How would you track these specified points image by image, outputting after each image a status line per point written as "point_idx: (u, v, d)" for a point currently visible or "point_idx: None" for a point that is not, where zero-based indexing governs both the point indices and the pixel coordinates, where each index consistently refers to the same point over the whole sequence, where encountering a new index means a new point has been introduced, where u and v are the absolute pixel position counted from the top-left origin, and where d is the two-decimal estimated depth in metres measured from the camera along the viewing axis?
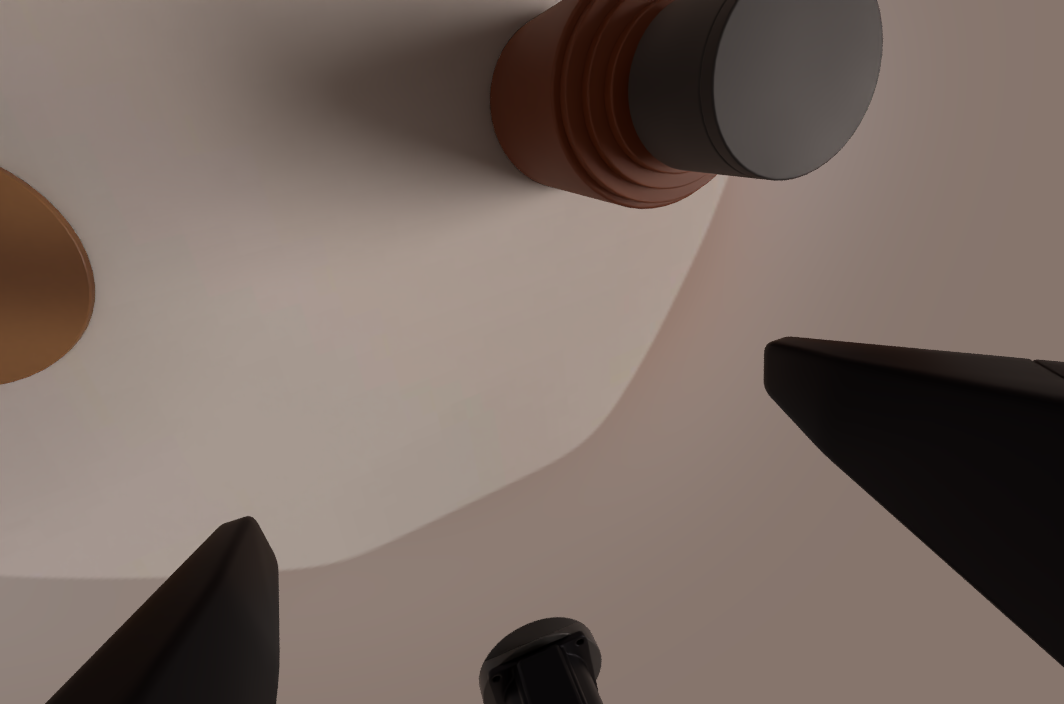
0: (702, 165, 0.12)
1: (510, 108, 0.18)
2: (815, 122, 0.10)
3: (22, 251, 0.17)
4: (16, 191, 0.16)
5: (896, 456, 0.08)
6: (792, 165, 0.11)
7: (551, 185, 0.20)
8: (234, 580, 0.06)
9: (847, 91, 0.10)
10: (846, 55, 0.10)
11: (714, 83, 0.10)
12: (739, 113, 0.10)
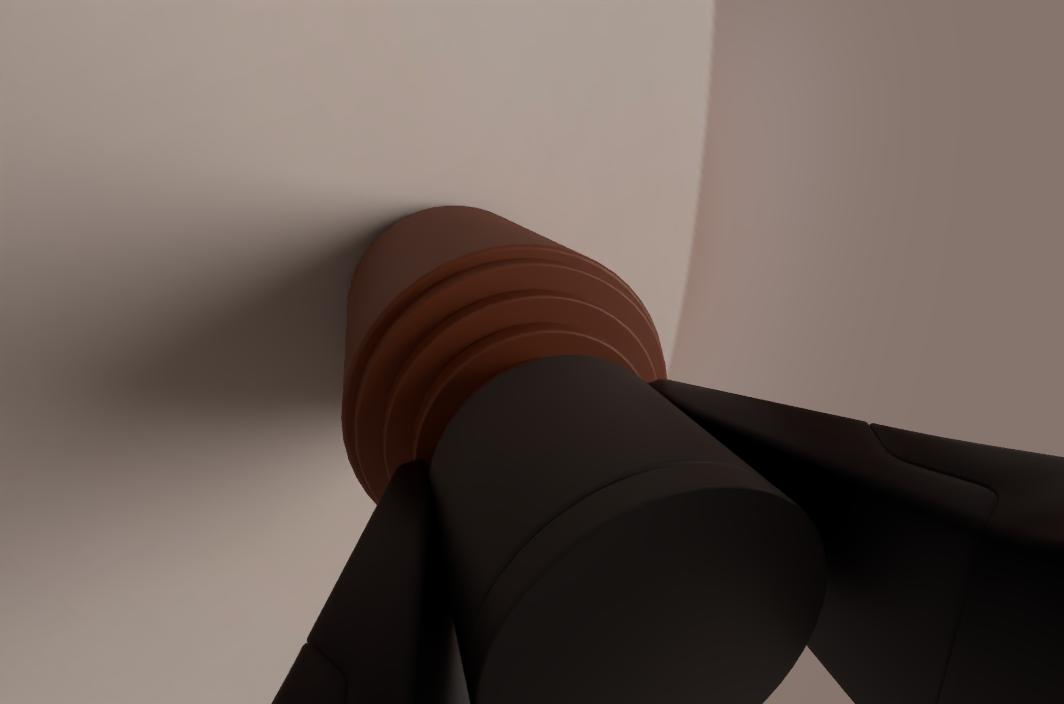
0: None
1: None
2: (749, 590, 0.05)
3: None
4: None
5: None
6: (806, 598, 0.06)
7: None
8: (433, 509, 0.07)
9: (708, 551, 0.05)
10: (646, 584, 0.05)
11: None
12: None
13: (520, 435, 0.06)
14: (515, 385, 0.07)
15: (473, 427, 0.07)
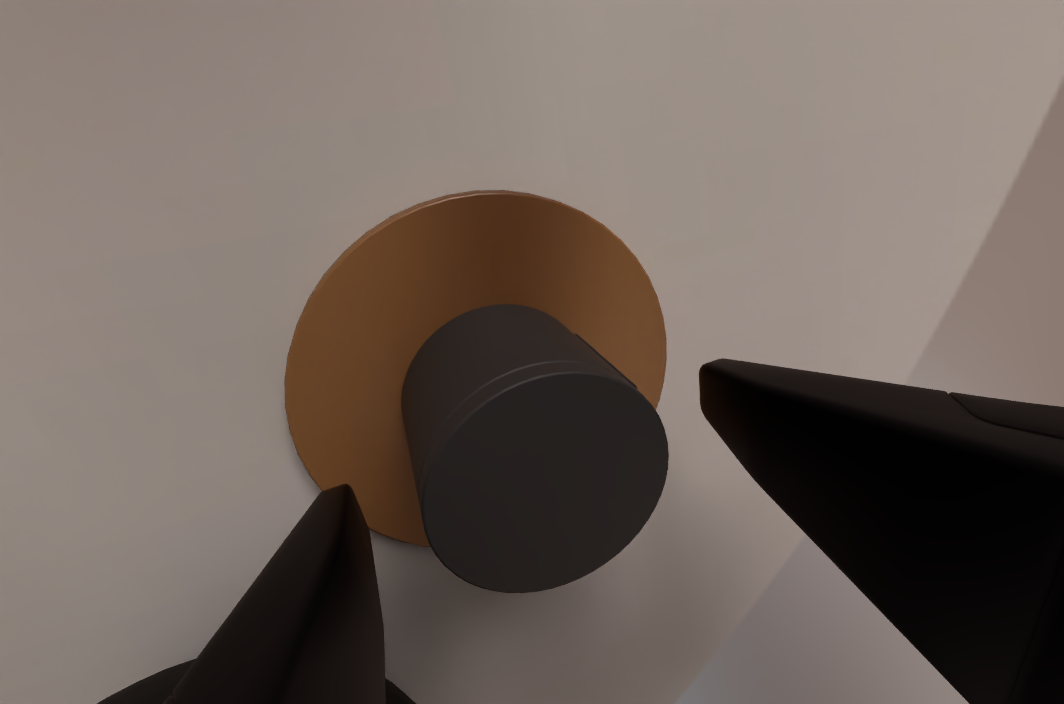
0: None
1: None
2: (589, 434, 0.08)
3: (466, 280, 0.10)
4: (358, 264, 0.09)
5: (818, 488, 0.07)
6: (642, 423, 0.08)
7: None
8: (348, 540, 0.07)
9: (537, 423, 0.07)
10: (505, 457, 0.07)
11: (608, 554, 0.09)
12: (622, 518, 0.09)
13: (423, 392, 0.09)
14: (425, 355, 0.10)
15: (407, 395, 0.09)
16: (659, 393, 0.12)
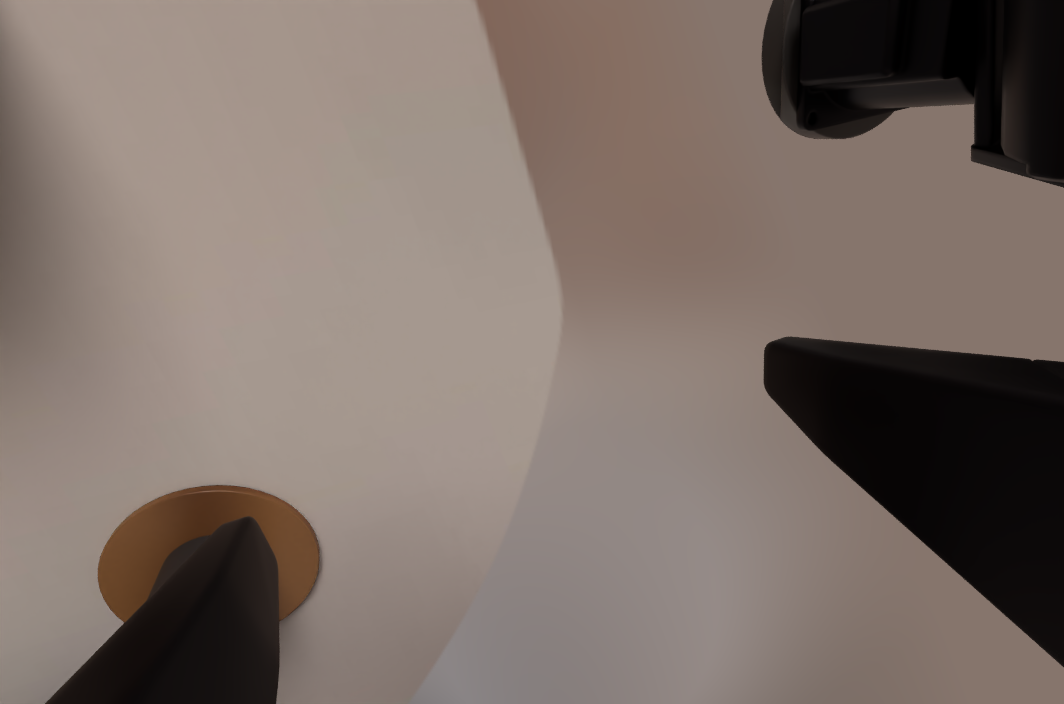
0: None
1: None
2: None
3: (186, 528, 0.21)
4: (127, 529, 0.20)
5: (896, 456, 0.08)
6: None
7: None
8: (234, 580, 0.06)
9: None
10: None
11: None
12: None
13: (150, 592, 0.19)
14: (164, 565, 0.20)
15: None
16: (317, 562, 0.23)
